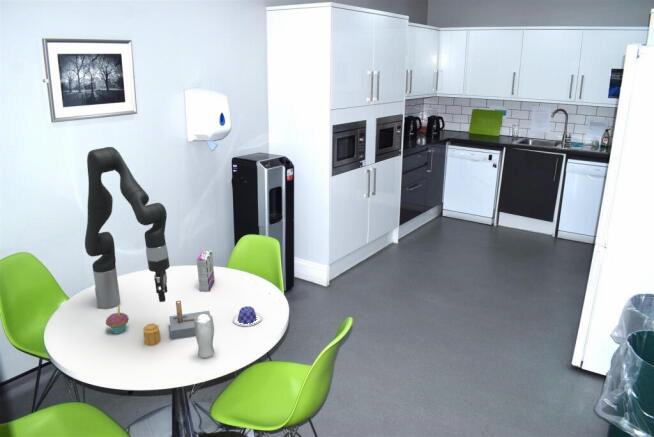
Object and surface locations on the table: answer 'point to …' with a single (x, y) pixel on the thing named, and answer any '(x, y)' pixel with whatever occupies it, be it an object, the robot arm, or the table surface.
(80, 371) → the table surface
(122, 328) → the cupcake
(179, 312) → the wooden post
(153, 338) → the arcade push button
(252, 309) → the pudding
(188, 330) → the box
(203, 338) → the beer glass
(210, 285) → the candy bar box
